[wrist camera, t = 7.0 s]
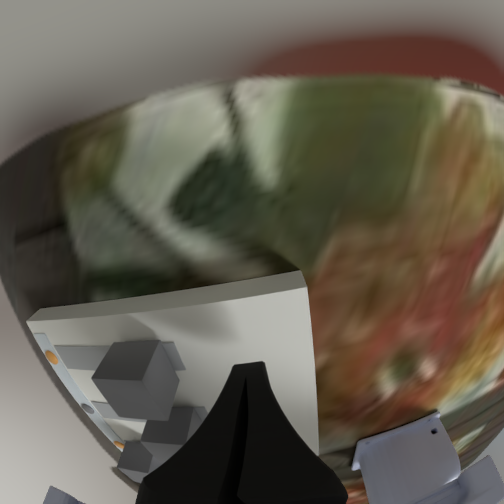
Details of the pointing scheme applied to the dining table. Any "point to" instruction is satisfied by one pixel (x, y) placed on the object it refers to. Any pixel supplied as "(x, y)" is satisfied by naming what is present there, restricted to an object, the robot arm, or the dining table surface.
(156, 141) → the dining table surface
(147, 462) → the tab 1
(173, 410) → the dark gray cube
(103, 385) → the gray cube
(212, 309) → the switch panel
